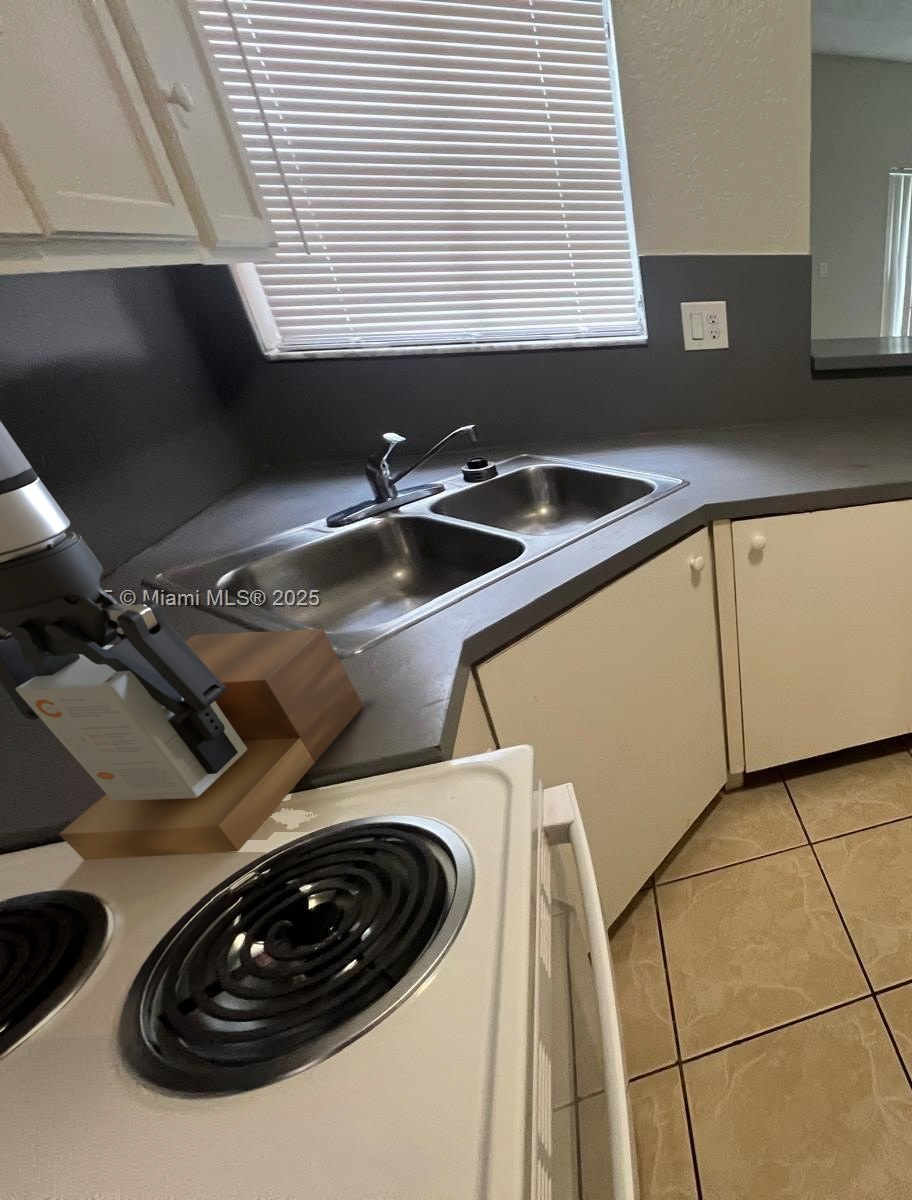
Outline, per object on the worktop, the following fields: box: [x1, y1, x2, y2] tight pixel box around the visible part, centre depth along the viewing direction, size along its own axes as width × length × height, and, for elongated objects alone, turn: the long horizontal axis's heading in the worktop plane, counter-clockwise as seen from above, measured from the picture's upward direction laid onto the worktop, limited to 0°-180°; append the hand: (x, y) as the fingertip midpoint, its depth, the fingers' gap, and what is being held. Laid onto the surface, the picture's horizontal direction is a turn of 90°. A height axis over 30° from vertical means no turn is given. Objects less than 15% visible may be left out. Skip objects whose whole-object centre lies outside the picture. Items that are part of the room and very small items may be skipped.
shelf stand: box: [58, 628, 364, 860], centre depth 62 cm, size 14×20×11 cm
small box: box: [16, 644, 247, 801], centre depth 56 cm, size 8×6×13 cm
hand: (175, 765), depth 58 cm, fingers closed on small box, 8 cm apart
